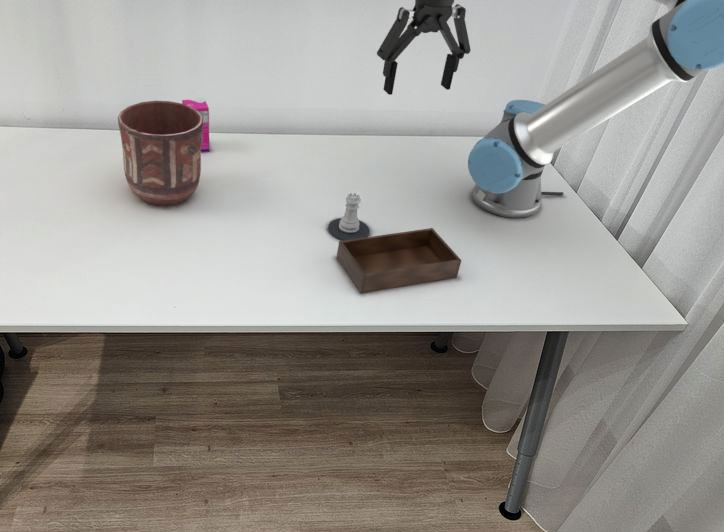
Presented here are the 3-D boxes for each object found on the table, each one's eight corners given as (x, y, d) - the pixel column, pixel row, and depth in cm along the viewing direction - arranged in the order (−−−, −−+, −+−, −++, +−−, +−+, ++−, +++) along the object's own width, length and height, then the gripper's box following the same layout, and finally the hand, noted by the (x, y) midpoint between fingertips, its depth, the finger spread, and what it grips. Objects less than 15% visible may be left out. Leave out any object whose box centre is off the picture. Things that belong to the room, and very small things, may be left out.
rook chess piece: (353, 236, 155) (358, 203, 149) (334, 229, 156) (339, 197, 151) (362, 227, 158) (368, 194, 152) (344, 220, 159) (349, 188, 154)
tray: (428, 244, 155) (432, 227, 152) (456, 278, 146) (461, 260, 143) (336, 258, 149) (338, 241, 146) (360, 293, 141) (363, 275, 138)
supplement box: (182, 142, 184) (181, 98, 176) (205, 141, 185) (205, 97, 178) (186, 153, 180) (185, 108, 172) (210, 151, 181) (210, 107, 174)
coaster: (363, 218, 161) (363, 216, 161) (373, 241, 155) (374, 239, 154) (324, 219, 160) (324, 218, 160) (332, 242, 153) (332, 240, 153)
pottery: (186, 168, 174) (184, 95, 162) (214, 204, 163) (215, 128, 151) (114, 181, 168) (107, 106, 156) (138, 219, 156) (133, 141, 144)
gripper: (387, -11, 134) (370, 101, 148) (504, -16, 140) (477, 92, 154) (371, -23, 139) (355, 87, 153) (484, -27, 146) (459, 78, 160)
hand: (416, 89), depth 154 cm, fingers open, 13 cm apart
